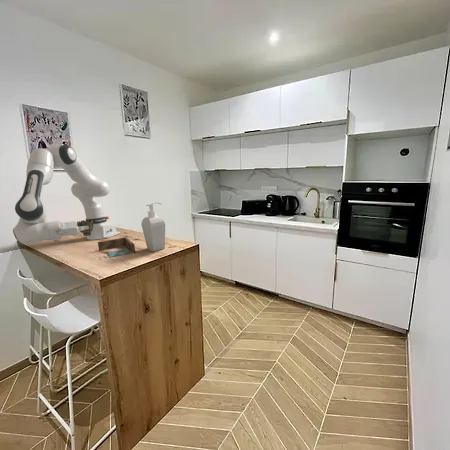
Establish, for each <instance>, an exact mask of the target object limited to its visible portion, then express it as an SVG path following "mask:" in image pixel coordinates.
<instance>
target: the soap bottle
mask: <svg viewBox="0 0 450 450" xmlns="http://www.w3.org/2000/svg"><path fill="white" fill-rule="evenodd" d="M155 204H157V205H162V203H161V202H156V201H155V202H154V201H153V202H148V203H146V204H145V207H148V209H149V211H147V216H146V217H144V218H143V219H142V221H141V228H142V232H143V236H144V241H145V244H146V248H147V249H148V250H149V251H152V252H157V251H161V250H165V249H166V223H165V221H164V219H163V218H162V217H161V216H159V215H157V212H156V210H154V205H155Z"/></svg>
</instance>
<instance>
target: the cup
mask: <svg viewBox="0 0 450 450" xmlns="http://www.w3.org/2000/svg"><path fill="white" fill-rule="evenodd" d="M76 223H77V224H78V227H79V226H86V225H88V226H89V229H86V230H82V231H79V233H81V234H83V237H87V236H90V235H91V232H92V231H93V220H92V219H91V220H90V219H89V220H88V221H87V220H86V219H85V220H84V219H83V220H78V221H76Z"/></svg>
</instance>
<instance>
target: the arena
mask: <svg viewBox="0 0 450 450" xmlns="http://www.w3.org/2000/svg"><path fill="white" fill-rule="evenodd" d="M97 246H98V247H97V248H98V251H99V252H101V251H106V250H112V249H116V248H118V250H113V251H107V252H106V254H107V255H108V257H109V258H111V259H112V258H115V257H119V256H125V255H130V254H131V253H132V254H136V247H135V243H134V242H133V241H131V240H130V239H129V238H128V237H126V236H125V237H119V238H115V239H108V240H103V241H97ZM122 247H126V248H124V249H119V248H122Z"/></svg>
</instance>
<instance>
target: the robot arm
mask: <svg viewBox="0 0 450 450" xmlns="http://www.w3.org/2000/svg"><path fill="white" fill-rule="evenodd" d="M60 167H62V169H63V170H64V172H65V173H66V174H67V175H68V177H70V179H71V180H72V181H73V182H74V183H73V184H72V185H71V187H70V188H71V189H70V191H71V193H72V195H73V196H74V197H75V198H77V199H78V200H79V201H80V203H81V204H82V206H83V209H84V214H85V220H87V221H88V220H89V219H90V220H91V219H92V220H93V231H92V232H91V235H90V236H86V239H87V240H93V241H95V240H101V239H110V238H112V237H114V236H116V235H119V234H121V231H119V230H117V228H116V226H115V224H113V223H111V222H109V221H107V220H109V219H110V216H105V215H104V209H103V205H102V204H101V203H100V202H98V201H97V200H96V198H101V197H106V196H108V195H109V193H110V189H111V188H110V185H109V184H108V183H107V182H106V181H104V180H102V179H100V178H98V177H96V176H95V175H94V174H93V173H91V172H90V171H89V169H88V168H87V167H86V165H85V164H84V163H83V161H82V160H81V158H79V156H78V155H77V153H76V151H75V149H74V148H73V147H72V146H70V145H65V144H62V145H56V146H54V145H53V146H50V147H47V148H42V147H41V148H40V147H39V148H34V149H33V150H32V151H31V153H30V155H29V158H28V162H27V164H26V171H25V172H26V176H25V177H26V180H25V184H24V187H23V188H24V189H23V193H22V195H21V197H20V198H19V199H18V200H17V202H16V204H15V206H14V211H15V213H16V214H17V216H18V217H19V219H18V221H17V224H16V225H15V226H14V227H13V228H12V234H13V235H14V237H15V240H16V241H17V242H18V243H20V244H35V243H40V242H43V241H56V240H61V239H62V237H68V236H74V235H79V234H80V231H82V230H86V229H89V226H88V225H86V226H79V227H78V224H77V221H75V220H73V221H59V220H55V221H47V222H46V220H47V219H46V218H47V215H46V211H45V209H44V206H43V203H42V201H41V196H42V195H41V194H42V190H43V186H46V185H49V184H50V183H51V181H52V179H53V176H54V171H55V168H56V169H57V168H60Z"/></svg>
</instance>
